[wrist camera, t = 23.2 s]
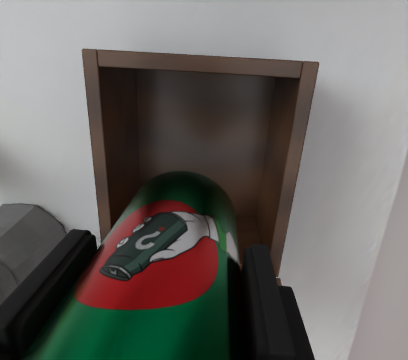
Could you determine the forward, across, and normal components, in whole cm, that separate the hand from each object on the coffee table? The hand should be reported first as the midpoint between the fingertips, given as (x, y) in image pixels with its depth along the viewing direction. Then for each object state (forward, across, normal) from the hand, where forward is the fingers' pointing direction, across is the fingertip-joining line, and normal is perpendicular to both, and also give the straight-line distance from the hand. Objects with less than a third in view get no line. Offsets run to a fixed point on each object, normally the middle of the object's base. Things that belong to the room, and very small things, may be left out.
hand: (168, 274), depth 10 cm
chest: (+17, 0, 0) cm, 17 cm away
